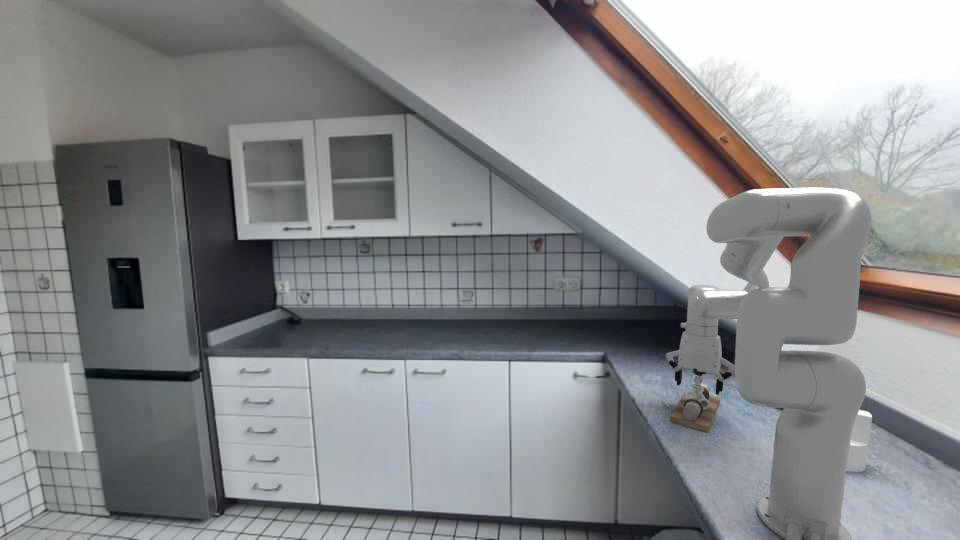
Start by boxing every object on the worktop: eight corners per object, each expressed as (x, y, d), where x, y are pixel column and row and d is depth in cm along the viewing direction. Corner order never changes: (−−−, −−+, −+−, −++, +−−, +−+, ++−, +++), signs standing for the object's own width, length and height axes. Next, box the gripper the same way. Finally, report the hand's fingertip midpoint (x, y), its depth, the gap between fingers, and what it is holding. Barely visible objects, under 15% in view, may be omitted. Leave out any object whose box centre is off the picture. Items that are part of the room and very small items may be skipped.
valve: (702, 400, 110) (704, 361, 109) (714, 412, 104) (717, 370, 103) (679, 400, 111) (681, 361, 109) (690, 411, 104) (693, 370, 103)
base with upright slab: (814, 462, 84) (820, 412, 83) (808, 443, 92) (812, 396, 90) (871, 477, 79) (878, 423, 78) (859, 455, 87) (865, 406, 85)
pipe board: (708, 432, 96) (710, 411, 96) (670, 421, 102) (671, 401, 101) (719, 402, 113) (721, 384, 112) (686, 394, 118) (687, 377, 118)
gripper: (664, 327, 107) (661, 384, 109) (737, 338, 96) (732, 402, 98) (670, 322, 113) (667, 376, 115) (740, 332, 102) (735, 392, 104)
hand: (697, 388), depth 106 cm, fingers open, 9 cm apart
